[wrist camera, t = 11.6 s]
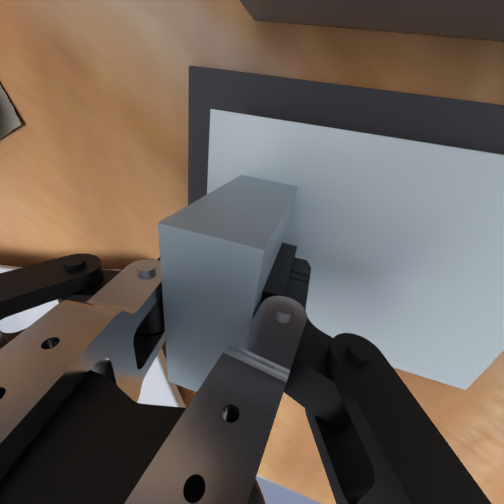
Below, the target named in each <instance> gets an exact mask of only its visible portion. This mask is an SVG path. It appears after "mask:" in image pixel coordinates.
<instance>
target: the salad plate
mask: <svg viewBox="0 0 504 504" xmlns="http://www.w3.org/2000/svg"><path fill="white" fill-rule="evenodd" d="M19 268H23V267H15V266H7V265H0V273H3V272H7V271H11V270H15V269H19ZM103 270H118V269H103ZM118 271H122V270H118ZM57 304H59V302H58V299H57V300H54V301H51V302H48V303H46V304H43V305H40V306H37V307H34V308H31V309H28V310H25V311H23V312H20V313H17V314H14V315H11V316H8V317H6V318H4V319H2V320H0V331H2V332H4V333H15V332H18V331H21V330H23V329H26V328H28V327H29V326H30V325H32V324H33V323H34V322H35V321H37V320H38V319H39V318H40V317H42V316H43V315H44V314H46V313H47V312H48V311H49V310H51V309H52V308H53V307H54V306H56V305H57ZM137 403H140V404H150V405H161V406H172V407H183V408H186V407H185V404H184V402H183V399H182V397H181V395H180V392H179V390H178V388H177V385H176V384H174V383H171V382H169V381H168V374H167V360H166V357H165V355H164V352H163V350H162V348H161V350H160V351H159V353H158V355H157V357H156V358H155V360H154V362H153V363H152V365H151V367H150V369H149V370H148V372H147V374H146V376H145V378H144V380H143V383H142V387H141V392H140V396H139V399H138V402H137Z"/></svg>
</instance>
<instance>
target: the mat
mask: <svg viewBox="0 0 504 504" xmlns="http://www.w3.org/2000/svg"><path fill="white" fill-rule="evenodd" d="M210 109H216V110H223V111H230V112H236V113H242V114H249V115H255V116H261V117H268V118H274V119H281V120H287V121H293V122H300V123H306V124H312V125H319V126H325V127H331V128H338V129H344V130H350V131H357V132H363V133H369V134H376V135H382V136H388V137H395V138H401V139H408V140H414V141H420V142H427V143H433V144H439V145H446V146H452V147H458V148H465V149H471V150H477V151H484V152H490V153H496V154H503V155H504V105H496V104H489V103H481V102H473V101H465V100H457V99H449V98H441V97H433V96H425V95H417V94H409V93H401V92H393V91H386V90H378V89H370V88H362V87H354V86H346V85H338V84H330V83H322V82H314V81H306V80H298V79H291V78H283V77H275V76H267V75H259V74H251V73H243V72H235V71H227V70H219V69H211V68H203V67H195V66H189V174H188V205H190V204H192V203H193V202H195V201H197V200H198V199H200V198H202V197H204V196H205V195H207V179H208V156H209V132H210Z"/></svg>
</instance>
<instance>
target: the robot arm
mask: <svg viewBox="0 0 504 504" xmlns="http://www.w3.org/2000/svg"><path fill="white" fill-rule="evenodd" d="M296 250H297V246H295V245H291V244H287V243H283V242H282V244H281V247H280V249H279V252H278V254H277V257H276V259H275V262H274V264H273V267H272V269H271V271H270V274H269V276H268V279H267V281H266V284H265V286H264V289H263V292H262V297H261V302H260V307H259V309H258V310H257V312H256V313H255V315H254V317H253V318H252V320H251V322H250V323H249V325H248V326H247V328H246V330H245V331H244V333H243V335H242V336H241V338H240V339H239V341H238V343H237V344H236V346H235V347H234V348H233V347H230V346H229V347H227V348H226V349H225V351H224V352H223V353H222V355H221V356H220V358H219V359H218V361H217V362H216V364H215V365H214V367H213V368H212V370H211V371H210V373H209V374H208V376H207V377H206V379H205V381H204V382H203V384H202V385H201V387H200V388H199V390H198V391H197V393H196V394H195V396H194V397H193V399H192V400H191V402H190V404H189V405H188V407H187V408H183V407H172V406H161V405H150V404H140V403H137V402H138V399H139V396H140V392H141V387H142V383H143V380H144V378H145V376H146V374H147V372H148V370H149V369H150V367H151V365H152V363H153V362H154V360H155V358H156V357H157V355H158V353H159V351H160V350H161V348H162V346H163V344H164V343H165V326H164V310H163V294H162V278H161V262H160V258H159V259H157V260H155V259H144V260H138V261H135V262H133V263H131V264H129V265H128V266H126V267H125V268H124V269H123V270H122V271H118V270H103V269H102V265H101V260H100V259H99V258H98V257H97V256H94V255H90V254H75V255H70V256H65V257H62V258H58V259H54V260H50V261H46V262H42V263H38V264H34V265H30V266H26V267H23V268H19V269H15V270H11V271H7V272H3V273H0V320H2V319H4V318H6V317H8V316H11V315H14V314H17V313H20V312H23V311H25V310H28V309H31V308H34V307H37V306H40V305H43V304H46V303H48V302H51V301H54V300H57V299H58V302H59V304H57V305H56V306H54V307H53V308H52V309H51V310H49V311H48V312H47V313H46V314H44V315H43V316H42V317H40V318H39V319H38V320H37V321H35V322H34V323H33V324H32V325H30V326H29V327H28V328H26V329H23V330H21V331H18V332H15V333H4V332H2V331H0V504H265V501H264V498H263V495H262V493H261V490H260V488H259V485H258V483H257V480H256V475H257V472H258V469H259V465H260V462H261V459H262V456H263V453H264V450H265V447H266V444H267V441H268V438H269V435H270V432H271V429H272V426H273V422H274V419H275V416H276V413H277V410H278V407H279V404H280V401H281V398H282V395H283V392H285V393H286V394H287V395H289V396H290V397H291V398H293V399H294V400H295V401H297V402H298V403H299V404H301V405H302V406H303V407H305V412H306V416H307V419H308V421H309V424H310V427H311V430H312V433H313V436H314V439H315V442H316V445H317V448H318V451H319V454H320V457H321V460H322V463H323V465H324V468H325V471H326V474H327V477H328V480H329V483H330V486H331V489H332V492H333V495H334V498H335V501H336V504H491V502H490V501H489V500H488V498H487V497H486V495H485V494H484V493H483V491H482V490H481V489H480V487H479V486H478V484H477V483H476V482H475V480H474V479H473V478H472V476H471V475H470V473H469V472H468V471H467V469H466V468H465V467H464V465H463V464H462V462H461V461H460V460H459V458H458V457H457V456H456V454H455V453H454V451H453V450H452V449H451V447H450V446H449V445H448V443H447V442H446V440H445V439H444V438H443V436H442V435H441V434H440V432H439V431H438V429H437V428H436V427H435V425H434V424H433V423H432V421H431V420H430V418H429V417H428V416H427V414H426V413H425V411H424V410H423V409H422V407H421V406H420V405H419V403H418V402H417V400H416V399H415V398H414V396H413V395H412V394H411V392H410V391H409V389H408V388H407V387H406V385H405V384H404V383H403V381H402V380H401V378H400V377H399V376H398V374H397V373H396V372H395V370H394V369H393V367H392V366H391V365H390V363H389V362H388V361H387V359H386V358H385V356H384V355H383V354H382V352H381V351H380V350H379V349H378V348H377V347H376V346H375V345H374V344H373V343H372V342H370V341H369V340H367V339H365V338H364V337H361V336H359V335H356V334H352V333H341V334H338V335H336V336H335V337H334V338H332V337H331V336H329V335H327V334H325V333H324V332H322V331H321V330H319V329H318V328H316V327H315V326H314V325H313V324H312V323H311V321H310V320H309V319H308V317H307V313H306V303H307V295H308V288H309V281H310V274H311V267H310V265H309V263H308V261H307V260H303V259H300V258H296V257H295V254H296Z"/></svg>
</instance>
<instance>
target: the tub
mask: <svg viewBox="0 0 504 504" xmlns="http://www.w3.org/2000/svg"><path fill="white" fill-rule="evenodd" d="M240 1H241V3H242V4H243V5H244V7H245V8H246V9H247V11H248V12H249V13H250V15H251V16H252V17H253V19H254V20H261V21H273V22H285V23H296V24H308V25H320V26H332V27H343V28H355V29H367V30H378V31H390V32H402V33H413V34H425V35H437V36H449V37H460V38H472V39H484V40H495V41H504V0H240Z"/></svg>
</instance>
